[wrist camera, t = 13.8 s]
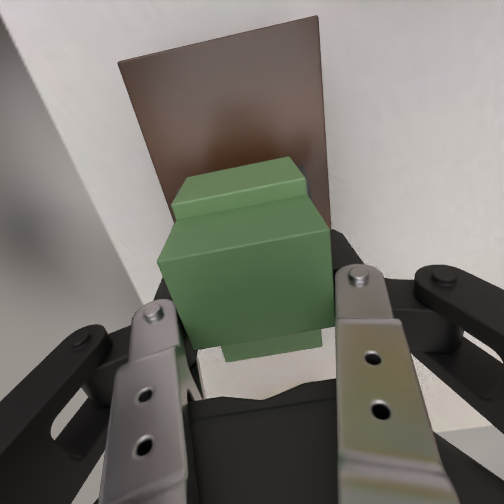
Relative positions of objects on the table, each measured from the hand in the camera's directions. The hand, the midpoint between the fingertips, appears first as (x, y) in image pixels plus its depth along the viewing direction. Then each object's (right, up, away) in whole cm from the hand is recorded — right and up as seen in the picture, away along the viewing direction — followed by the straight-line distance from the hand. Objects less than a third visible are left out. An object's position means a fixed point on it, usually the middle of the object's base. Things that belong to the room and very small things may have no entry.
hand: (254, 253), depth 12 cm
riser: (0, +5, +9) cm, 10 cm away
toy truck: (0, +1, +1) cm, 1 cm away
